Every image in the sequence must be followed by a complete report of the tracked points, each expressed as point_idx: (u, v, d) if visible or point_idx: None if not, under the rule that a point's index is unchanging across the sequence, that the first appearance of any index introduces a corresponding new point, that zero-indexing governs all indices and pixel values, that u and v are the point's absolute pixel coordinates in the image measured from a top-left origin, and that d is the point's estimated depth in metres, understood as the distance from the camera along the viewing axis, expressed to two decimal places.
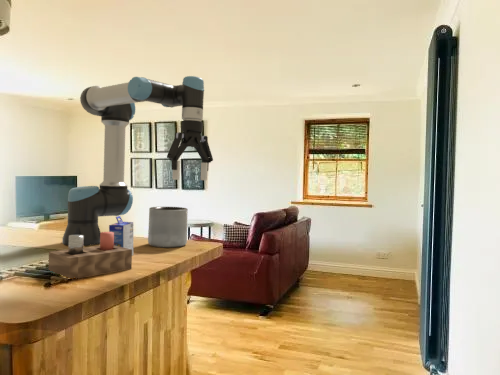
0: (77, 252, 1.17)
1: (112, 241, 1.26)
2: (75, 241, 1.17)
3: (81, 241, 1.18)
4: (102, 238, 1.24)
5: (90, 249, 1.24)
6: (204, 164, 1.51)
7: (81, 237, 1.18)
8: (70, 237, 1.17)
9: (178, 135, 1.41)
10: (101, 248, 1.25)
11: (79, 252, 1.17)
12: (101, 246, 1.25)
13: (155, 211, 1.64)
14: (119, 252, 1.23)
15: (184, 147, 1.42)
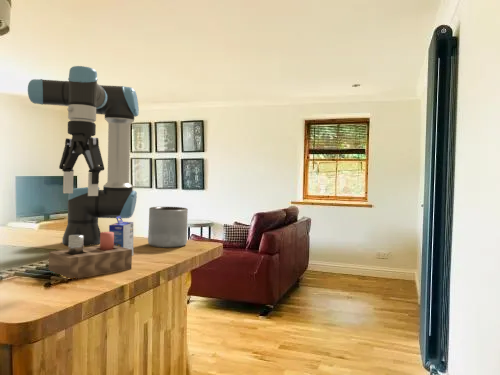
0: (77, 252, 1.17)
1: (112, 241, 1.26)
2: (75, 241, 1.17)
3: (81, 241, 1.18)
4: (102, 238, 1.24)
5: (90, 249, 1.24)
6: None
7: (81, 237, 1.18)
8: (70, 237, 1.17)
9: None
10: (101, 248, 1.25)
11: (79, 252, 1.17)
12: (101, 246, 1.25)
13: (155, 211, 1.64)
14: (119, 252, 1.23)
15: (69, 155, 1.20)
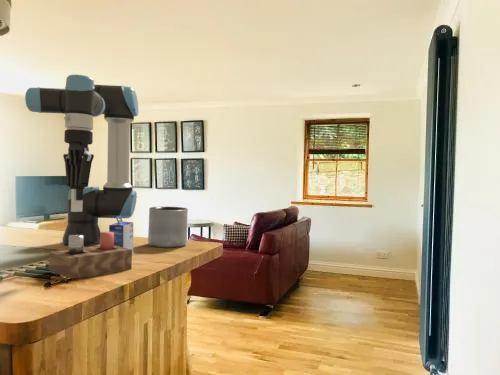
0: (77, 252, 1.17)
1: (112, 241, 1.26)
2: (75, 241, 1.17)
3: (81, 241, 1.18)
4: (102, 238, 1.24)
5: (90, 249, 1.24)
6: None
7: (81, 237, 1.18)
8: (70, 237, 1.17)
9: None
10: (101, 248, 1.25)
11: (79, 252, 1.17)
12: (101, 246, 1.25)
13: (155, 211, 1.64)
14: (119, 252, 1.23)
15: (71, 168, 1.18)
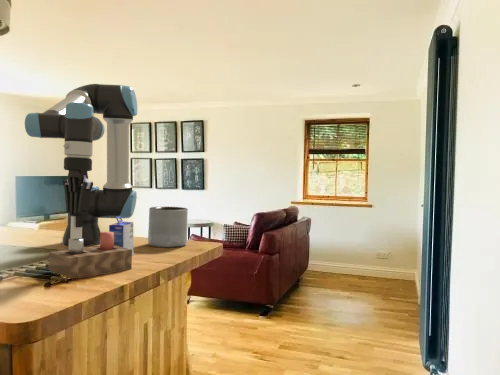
0: None
1: (112, 241, 1.26)
2: (75, 244, 1.17)
3: (81, 244, 1.18)
4: (102, 238, 1.24)
5: (90, 249, 1.24)
6: None
7: (81, 240, 1.18)
8: (70, 240, 1.17)
9: None
10: (101, 248, 1.25)
11: None
12: (101, 246, 1.25)
13: (155, 211, 1.64)
14: (119, 252, 1.23)
15: (70, 195, 1.18)
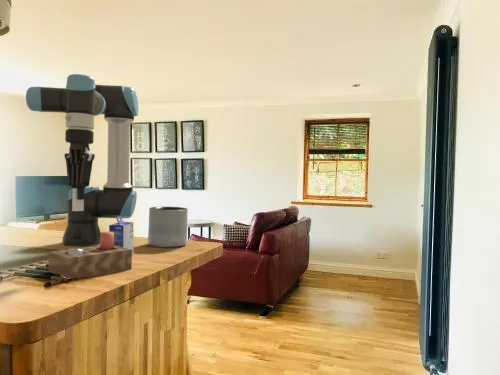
0: None
1: (112, 241, 1.26)
2: (75, 254, 1.17)
3: None
4: (102, 238, 1.24)
5: (90, 249, 1.24)
6: None
7: (81, 251, 1.18)
8: (70, 251, 1.17)
9: None
10: (101, 248, 1.25)
11: None
12: (101, 246, 1.25)
13: (155, 211, 1.64)
14: (119, 252, 1.23)
15: (72, 167, 1.18)
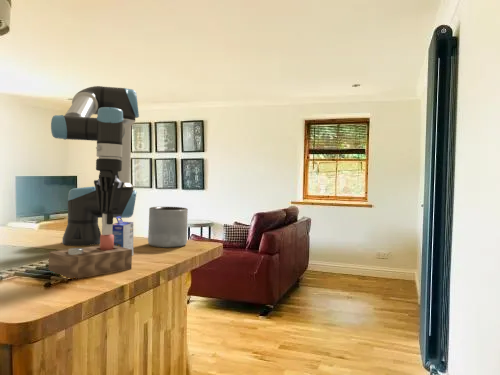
0: None
1: (112, 244, 1.26)
2: (75, 254, 1.17)
3: None
4: (102, 241, 1.25)
5: (90, 249, 1.24)
6: None
7: (81, 251, 1.18)
8: (70, 251, 1.17)
9: None
10: None
11: None
12: (101, 249, 1.25)
13: (155, 211, 1.64)
14: (119, 252, 1.23)
15: (102, 194, 1.26)
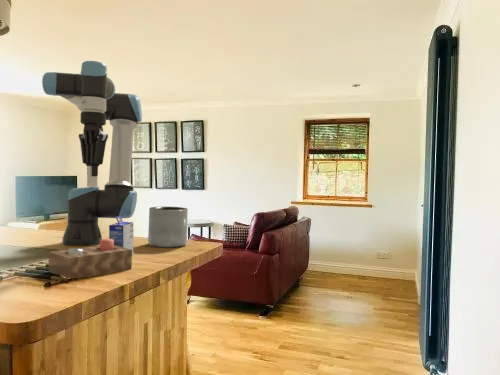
0: None
1: (112, 248, 1.26)
2: (75, 254, 1.17)
3: None
4: (102, 246, 1.25)
5: (90, 249, 1.24)
6: None
7: (81, 251, 1.18)
8: (70, 251, 1.17)
9: None
10: None
11: None
12: None
13: (155, 211, 1.64)
14: (119, 252, 1.23)
15: (86, 147, 1.29)
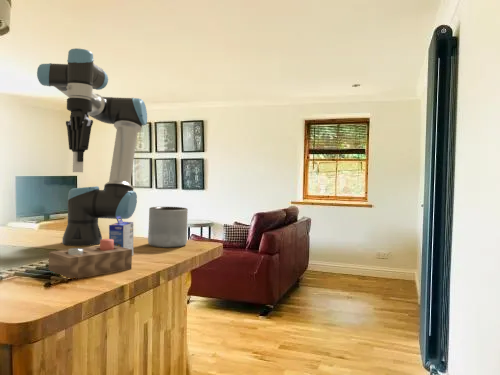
0: None
1: (112, 248, 1.26)
2: (75, 254, 1.17)
3: None
4: (102, 246, 1.25)
5: (90, 249, 1.24)
6: None
7: (81, 251, 1.18)
8: (70, 251, 1.17)
9: None
10: None
11: None
12: None
13: (155, 211, 1.64)
14: (119, 252, 1.23)
15: (73, 133, 1.31)
